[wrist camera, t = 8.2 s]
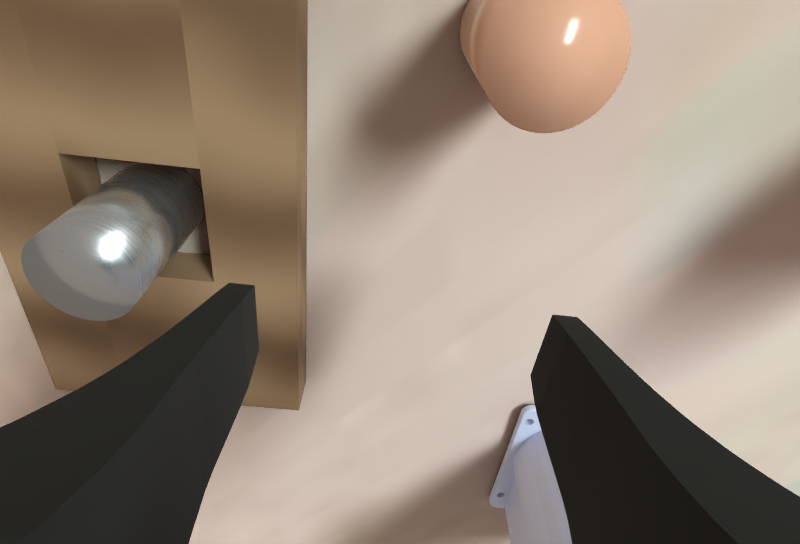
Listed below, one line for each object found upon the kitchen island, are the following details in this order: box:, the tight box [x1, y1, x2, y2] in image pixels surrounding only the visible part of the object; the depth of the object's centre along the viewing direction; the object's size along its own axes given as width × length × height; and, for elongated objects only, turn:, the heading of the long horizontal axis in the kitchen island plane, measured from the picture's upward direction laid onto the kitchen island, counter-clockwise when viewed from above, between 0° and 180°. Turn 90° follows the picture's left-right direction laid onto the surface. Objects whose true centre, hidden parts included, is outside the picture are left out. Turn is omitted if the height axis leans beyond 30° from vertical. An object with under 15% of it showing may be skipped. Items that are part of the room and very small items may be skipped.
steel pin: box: [21, 162, 205, 321], centre depth 18 cm, size 4×4×6 cm
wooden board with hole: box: [0, 0, 307, 410], centre depth 19 cm, size 20×12×2 cm, turn 174°
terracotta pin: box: [460, 0, 631, 133], centre depth 14 cm, size 4×4×6 cm
